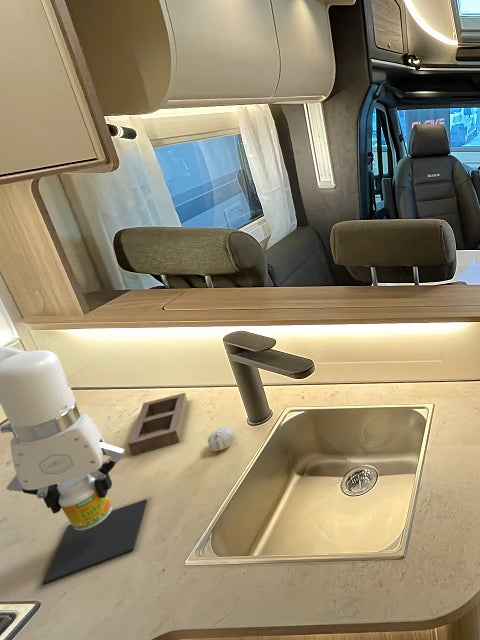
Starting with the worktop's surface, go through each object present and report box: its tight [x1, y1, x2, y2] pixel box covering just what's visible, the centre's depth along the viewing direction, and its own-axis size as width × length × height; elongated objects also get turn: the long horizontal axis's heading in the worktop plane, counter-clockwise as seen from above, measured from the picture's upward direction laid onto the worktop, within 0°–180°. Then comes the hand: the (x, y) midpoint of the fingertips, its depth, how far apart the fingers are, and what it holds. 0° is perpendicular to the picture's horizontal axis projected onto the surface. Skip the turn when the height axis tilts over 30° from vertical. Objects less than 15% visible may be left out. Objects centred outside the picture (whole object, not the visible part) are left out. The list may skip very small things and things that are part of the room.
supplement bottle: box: [57, 474, 113, 530], centre depth 76 cm, size 5×5×10 cm
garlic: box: [207, 426, 236, 452], centre depth 101 cm, size 6×5×5 cm
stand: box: [128, 392, 189, 456], centre depth 106 cm, size 9×16×4 cm, turn 30°
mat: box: [42, 498, 148, 585], centre depth 79 cm, size 12×12×1 cm
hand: (82, 498), depth 76 cm, fingers closed on supplement bottle, 5 cm apart
